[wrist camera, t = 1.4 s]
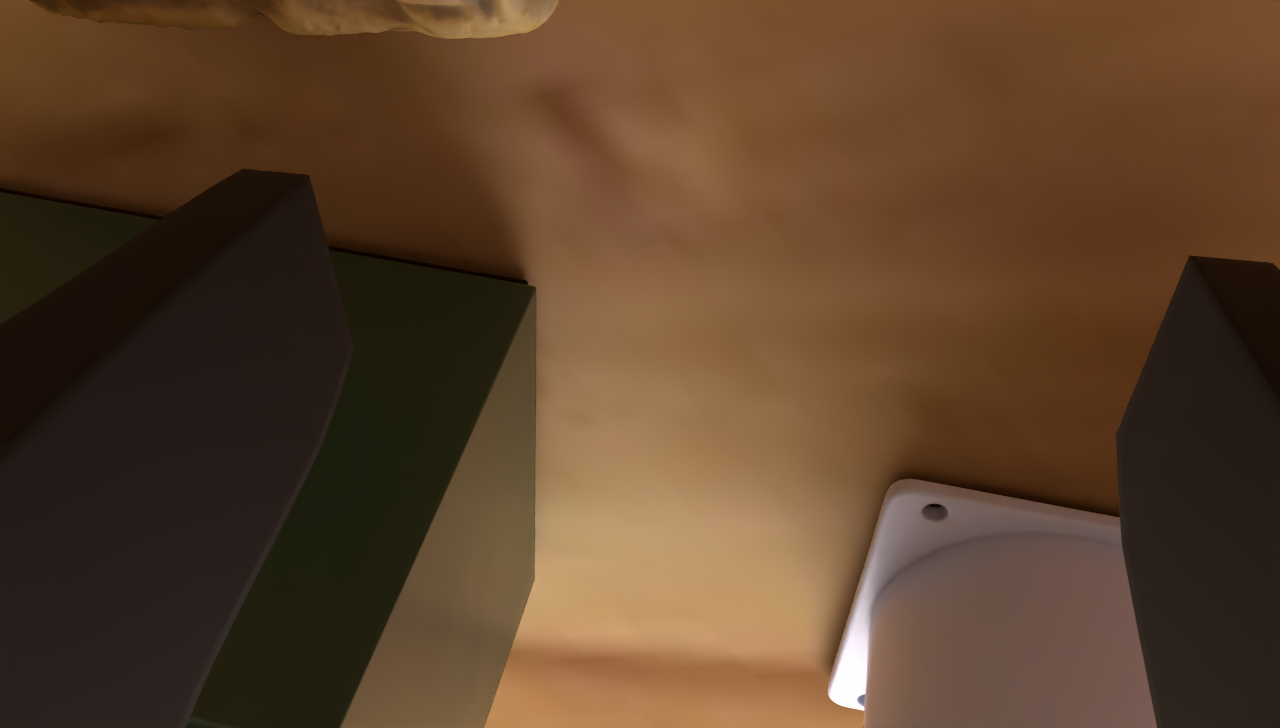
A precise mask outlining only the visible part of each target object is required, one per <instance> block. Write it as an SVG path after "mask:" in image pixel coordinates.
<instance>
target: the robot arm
mask: <svg viewBox="0 0 1280 728" xmlns="http://www.w3.org/2000/svg"><path fill="white" fill-rule="evenodd" d="M353 352H354V345H353V341H352V337H351V333H350V329H349V325H348V322H347V318H346V314H345V310H344V306H343V302H342V299H341V295H340V291H339V287H338V283H337V279H336V276H335V272H334V268H333V264H332V260H331V256H330V253H329V249H328V245H327V241H326V237H325V233H324V230H323V226H322V222H321V218H320V214H319V210H318V207H317V203H316V199H315V195H314V191H313V187H312V184H311V180H310V176H309V175H306V174H295V173H284V172H273V171H262V170H251V169H242V170H240V171H238V172H236V173H234V174H233V175H231V176H229V177H227V178H226V179H224V180H222V181H220V182H219V183H217V184H215V185H214V186H212V187H210V188H209V189H207V190H206V191H204V192H202V193H201V194H199V195H198V196H196V197H195V198H193V199H191V200H190V201H188V202H187V203H185V204H184V205H182V206H181V207H179V208H178V209H176V210H175V211H173V212H172V213H170V214H169V215H167V216H166V217H164V218H162V219H161V220H159V221H158V222H156V223H155V224H153V225H152V226H150V227H149V228H147V229H146V230H144V231H143V232H141V233H140V234H138V235H137V236H135V237H134V238H132V239H131V240H130V241H128V242H127V243H125V244H124V245H122V246H121V247H119V248H118V249H116V250H114V251H113V252H111V253H110V254H108V255H107V256H105V257H104V258H102V259H101V260H99V261H98V262H96V263H95V264H93V265H92V266H90V267H89V268H87V269H86V270H84V271H83V272H81V273H80V274H78V275H76V276H75V277H73V278H72V279H70V280H69V281H67V282H66V283H64V284H63V285H61V286H60V287H58V288H57V289H55V290H54V291H52V292H51V293H49V294H48V295H46V296H45V297H43V298H42V299H40V300H38V301H37V302H35V303H34V304H32V305H31V306H29V307H27V308H26V309H24V310H23V311H21V312H19V313H18V314H16V315H14V316H13V317H11V318H9V319H8V320H6V321H4V322H3V323H1V324H0V728H186V727H187V724H188V722H189V719H190V716H191V714H192V711H193V708H194V706H195V703H196V701H197V699H198V697H199V694H200V692H201V690H202V688H203V685H204V683H205V681H206V679H207V677H208V674H209V672H210V670H211V668H212V666H213V663H214V661H215V659H216V657H217V654H218V652H219V651H220V649H221V647H222V645H223V643H224V641H225V639H226V637H227V635H228V633H229V631H230V629H231V627H232V625H233V623H234V621H235V619H236V617H237V615H238V613H239V611H240V609H241V607H242V605H243V603H244V601H245V599H246V597H247V595H248V593H249V591H250V589H251V587H252V585H253V583H254V581H255V579H256V577H257V575H258V573H259V571H260V570H261V568H262V566H263V564H264V562H265V560H266V558H267V556H268V554H269V552H270V550H271V548H272V546H273V544H274V542H275V540H276V538H277V536H278V534H279V532H280V530H281V528H282V526H283V524H284V522H285V520H286V518H287V516H288V514H289V512H290V510H291V508H292V506H293V504H294V502H295V500H296V498H297V496H298V494H299V492H300V490H301V488H302V486H303V484H304V482H305V480H306V478H307V476H308V474H309V472H310V470H311V468H312V465H313V463H314V461H315V459H316V457H317V455H318V453H319V451H320V449H321V447H322V444H323V442H324V439H325V436H326V433H327V430H328V427H329V425H330V422H331V419H332V416H333V413H334V411H335V408H336V405H337V402H338V399H339V396H340V393H341V390H342V386H343V383H344V380H345V377H346V374H347V371H348V367H349V364H350V361H351V358H352V355H353ZM1116 446H1117V471H1118V495H1119V510H1120V518H1119V517H1114V516H1109V515H1103V514H1098V513H1093V512H1087V511H1082V510H1077V509H1071V508H1066V507H1061V506H1055V505H1050V504H1045V503H1040V502H1034V501H1029V500H1024V499H1018V498H1013V497H1008V496H1002V495H997V494H992V493H986V492H981V491H976V490H970V489H965V488H960V487H954V486H949V485H944V484H938V483H933V482H928V481H922V480H917V479H904V480H899V481H897V482H895V483H893V484H892V485H890V487H889V489H888V490H887V492H886V496H885V499H884V502H883V505H882V509H881V512H880V515H879V518H878V522H877V525H876V528H875V531H874V535H873V538H872V541H871V544H870V548H869V551H868V554H867V557H866V561H865V564H864V567H863V571H862V574H861V577H860V580H859V584H858V587H857V590H856V593H855V597H854V600H853V603H852V606H851V610H850V613H849V616H848V619H847V623H846V626H845V629H844V632H843V636H842V639H841V642H840V646H839V649H838V652H837V655H836V659H835V662H834V665H833V668H832V672H831V675H830V678H829V684H828V696H829V697H830V698H831V700H832V701H834V702H835V703H837V704H839V705H842V706H845V707H849V708H854V709H859V710H864V721H863V728H1280V270H1279V269H1278V268H1277V267H1276V266H1275V265H1274V264H1273V263H1266V262H1255V261H1244V260H1234V259H1223V258H1212V257H1201V256H1190V255H1189V258H1188V260H1187V262H1186V265H1185V267H1184V270H1183V272H1182V275H1181V277H1180V279H1179V282H1178V284H1177V287H1176V289H1175V292H1174V294H1173V296H1172V299H1171V301H1170V304H1169V306H1168V309H1167V311H1166V313H1165V316H1164V318H1163V321H1162V323H1161V326H1160V328H1159V330H1158V333H1157V335H1156V338H1155V340H1154V343H1153V345H1152V347H1151V350H1150V352H1149V355H1148V357H1147V360H1146V362H1145V364H1144V367H1143V369H1142V372H1141V374H1140V377H1139V379H1138V381H1137V384H1136V386H1135V389H1134V391H1133V394H1132V396H1131V398H1130V401H1129V403H1128V406H1127V408H1126V411H1125V413H1124V415H1123V418H1122V420H1121V423H1120V425H1119V428H1118V430H1117V432H1116ZM929 504H940V505H942V506H941V507H930V506H928V505H929Z"/></svg>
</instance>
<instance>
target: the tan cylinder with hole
mask: <svg viewBox="0 0 1280 728" xmlns="http://www.w3.org/2000/svg"><path fill="white" fill-rule="evenodd" d="M29 1H31V2H33V3H34V4H36V5H38V6H39V7H41V8H43V9H45V10H46V11H49V12H51V13H55V14H60V15H63V16H71V17H74V18H78V19H89V20H92V21H96V22H99V23H103V22H116V23H126V24H135V25H148V26H156V27H164V28H166V27H175V28H183V29H187V30H194V29H212V30H217V31H222V30H224V29H234V28H237V27H239V26H241V25H242V24H243V23H245V22H246V21H248V20H249V19H251V18H253V17H255V16H258V15H259V16H263V15H264V16H267V17H269V18H270V19H271V20H272V21H274V22H275V23H276V24H277V25H278V26H279V27H280V28H282V29H283V30H285V31H287V32H290V33H293V34H296V35H302V34H304V35H326V36H331V35H337V34H358V33H361V32H371V33H379V32H383V31H385V30H389V31H417V32H420V33H423V34H425V35H429V36H434V37H439V38H450V39H455V38H467V37H470V38H494V37H501V36H507V35H511V34H516V33H528V32H530V31H532V30H534V29H536V28H538V27H539V26H540V25H542V24H543V23H544V22H545V21H546V20H547V19H548V18H549V17H550V16H551V14H552V13H553V11H554V9H555V7H556V6H557V4H558V2H559V0H29Z"/></svg>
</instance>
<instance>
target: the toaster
mask: <svg viewBox="0 0 1280 728" xmlns="http://www.w3.org/2000/svg"><path fill="white" fill-rule="evenodd" d="M162 218H164V217H161V216H155V215H150V214H144V213H138V212H133V211H127V210H121V209H116V208H110V207H104V206H98V205H93V204H87V203H81V202H76V201H70V200H64V199H59V198H53V197H47V196H42V195H36V194H30V193H25V192H19V191H13V190H7V189H2V188H0V324H1V323H3V322H4V321H6V320H8V319H9V318H11V317H13V316H14V315H16V314H18V313H19V312H21V311H23V310H24V309H26V308H27V307H29V306H31V305H32V304H34V303H35V302H37V301H38V300H40V299H42V298H43V297H45V296H46V295H48V294H49V293H51V292H52V291H54V290H55V289H57V288H58V287H60V286H61V285H63V284H64V283H66V282H67V281H69V280H70V279H72V278H73V277H75V276H76V275H78V274H80V273H81V272H83V271H84V270H86V269H87V268H89V267H90V266H92V265H93V264H95V263H96V262H98V261H99V260H101V259H102V258H104V257H105V256H107V255H108V254H110V253H111V252H113V251H114V250H116V249H118V248H119V247H121V246H122V245H124V244H125V243H127V242H128V241H130V240H131V239H132V238H134V237H135V236H137V235H138V234H140V233H141V232H143V231H144V230H146V229H147V228H149V227H150V226H152V225H153V224H155V223H156V222H158V221H159V220H161V219H162ZM328 249H329V253H330V256H331V260H332V264H333V268H334V272H335V276H336V279H337V283H338V287H339V291H340V295H341V299H342V302H343V306H344V310H345V314H346V318H347V322H348V325H349V329H350V333H351V337H352V341H353V345H354V352H353V355H352V358H351V361H350V364H349V367H348V371H347V374H346V377H345V380H344V383H343V386H342V390H341V393H340V396H339V399H338V402H337V405H336V408H335V411H334V413H333V416H332V419H331V422H330V425H329V427H328V430H327V433H326V436H325V439H324V442H323V444H322V447H321V449H320V451H319V453H318V455H317V457H316V459H315V461H314V463H313V465H312V468H311V470H310V472H309V474H308V476H307V478H306V480H305V482H304V484H303V486H302V488H301V490H300V492H299V494H298V496H297V498H296V500H295V502H294V504H293V506H292V508H291V510H290V512H289V514H288V516H287V518H286V520H285V522H284V524H283V526H282V528H281V530H280V532H279V534H278V536H277V538H276V540H275V542H274V544H273V546H272V548H271V550H270V552H269V554H268V556H267V558H266V560H265V562H264V564H263V566H262V568H261V570H260V571H259V573H258V575H257V577H256V579H255V581H254V583H253V585H252V587H251V589H250V591H249V593H248V595H247V597H246V599H245V601H244V603H243V605H242V607H241V609H240V611H239V613H238V615H237V617H236V619H235V621H234V623H233V625H232V627H231V629H230V631H229V633H228V635H227V637H226V639H225V641H224V643H223V645H222V647H221V649H220V651H219V652H218V654H217V657H216V659H215V661H214V663H213V666H212V668H211V670H210V672H209V674H208V677H207V679H206V681H205V683H204V685H203V688H202V690H201V692H200V694H199V697H198V699H197V701H196V703H195V706H194V708H193V711H192V714H191V716H190V719H189V722H188V724H187V727H186V728H484V726H485V723H486V721H487V718H488V715H489V712H490V709H491V706H492V703H493V700H494V697H495V694H496V691H497V688H498V685H499V682H500V679H501V676H502V673H503V671H504V668H505V665H506V662H507V659H508V656H509V653H510V650H511V647H512V644H513V641H514V638H515V635H516V632H517V629H518V626H519V623H520V621H521V618H522V615H523V612H524V609H525V606H526V603H527V600H528V597H529V594H530V591H531V588H532V585H533V582H534V579H535V416H536V287H534V286H530V285H528V282H527V281H525V280H519V279H514V278H508V277H502V276H497V275H491V274H485V273H480V272H474V271H468V270H463V269H457V268H451V267H446V266H440V265H434V264H428V263H423V262H417V261H411V260H406V259H400V258H394V257H389V256H383V255H377V254H372V253H366V252H360V251H355V250H349V249H343V248H337V247H332V246H328Z"/></svg>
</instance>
